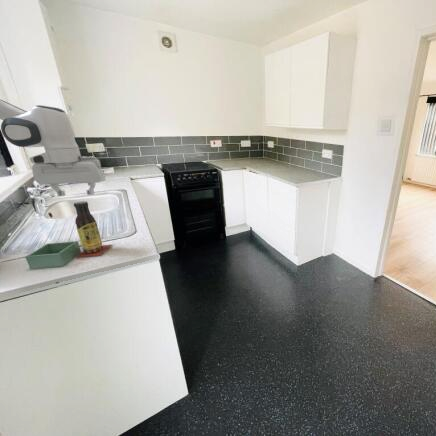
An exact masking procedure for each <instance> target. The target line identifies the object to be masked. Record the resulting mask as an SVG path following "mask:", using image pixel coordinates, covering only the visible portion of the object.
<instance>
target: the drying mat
mask: <svg viewBox="0 0 436 436" xmlns="http://www.w3.org/2000/svg"><path fill="white" fill-rule="evenodd" d="M111 247H112V244H104V245H103V244H102V249H101V250H100V251H98V252H94V253H84V251H81V253H80V254H79V255H78V256H76V259H80V258H92V257H101V256H102V255H103V254H104V253H105V252H106V251H107V250H109V249H110V248H111Z"/></svg>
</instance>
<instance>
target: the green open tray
mask: <svg viewBox="0 0 436 436" xmlns="http://www.w3.org/2000/svg"><path fill="white" fill-rule="evenodd" d="M80 246H81V245H80V243H79V240H78V241H77V240H75V241H74V240H73V241H63V242H62V241H61V242H50V243H46V244H44V245H43V246H41V247H39V248H37V249H36V250H34V251H32V252H30V253H29V254H27V255H25V257H24V258H25V260H26V262H27V265H28V267H29V269H30V270H37V269H38V270H39V269H49V268H58V267H65V266H66V265H67V264H69V263H70V262H71V261H72V260H74V259H75V258H77V256H78V255H79V254H81V253H82V248H81V247H80Z"/></svg>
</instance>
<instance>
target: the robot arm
mask: <svg viewBox="0 0 436 436" xmlns="http://www.w3.org/2000/svg"><path fill="white" fill-rule="evenodd" d="M0 121H1V125H0V131H1V134H2V136H3V137H4V139H5V140H7V141H8V142H9V143H10V144H11V145H14V146H16V147H20V148H44V151H45V152H42V153H39V154H35V155H33V156H30V157H29V161H30V163H31V164H32V165H31V171H32V175H33V179H34V181H35V182H36V184H38V185H41V186H43V185H49V186H50V188H51V189H52V190H53V191H55V193H56V194H57V196H58V197H65V196H66V195H67V194H66V191H65V190H62V189H61V188H60V185H66V184H67V185H69V184H87V186H88V187H89V188H88V189H87V190H86V194H87V195H88V196H93V195H95V187H96V185H97V184H98V183H102V182H104V181H105V179H106V176H105V173H104V170H103V169H102V165H101V160H100V159H99V158H97V157H95V156H92V155H90V156H89V155H88V156H86V155H85V156H84V155H81V150H80V147H79V145H78V144H77V142H76V134H75V130H74V127H73V125H72V122H71V118H70V117H69V115H68V114H67V112H66V111H65V110H63V109H62V108H59V107H54V106H47V105H41V104H40V105H39V104H38V105H34V106H32V107H31V109H30V110H28V111H27V110H24V109H22V108H21V107H18V106H16V105H14V104H11V103H10V102H7V101H5V100H3V99H1V98H0ZM96 183H97V184H96Z"/></svg>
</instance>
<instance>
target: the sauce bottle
mask: <svg viewBox="0 0 436 436" xmlns="http://www.w3.org/2000/svg"><path fill="white" fill-rule="evenodd" d="M73 207H74V208H75V211H76V217H75V221H74V223H75V226H76V230H77V234H78V238H79V241H80V246H81V250H83V251H84V253H94V252H98V251H100V250H101V249H102V245H103V243H102V239H101V235H100V230H99V227H98V226H99V225H98V222H97V221H96V218H95V217H94V216H93V214H92V213H91V211H90V209H89V202H88V201H86V200H83V201H77V202H76V201H75V202H73ZM83 251H82V252H83Z"/></svg>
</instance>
